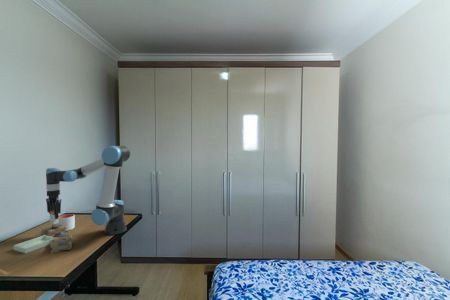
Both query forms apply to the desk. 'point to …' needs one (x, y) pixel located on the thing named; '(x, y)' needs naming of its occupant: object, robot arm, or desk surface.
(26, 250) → the tray
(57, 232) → the block
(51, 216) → the lock pin
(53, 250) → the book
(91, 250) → the desk surface
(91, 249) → the desk surface
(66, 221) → the cup
